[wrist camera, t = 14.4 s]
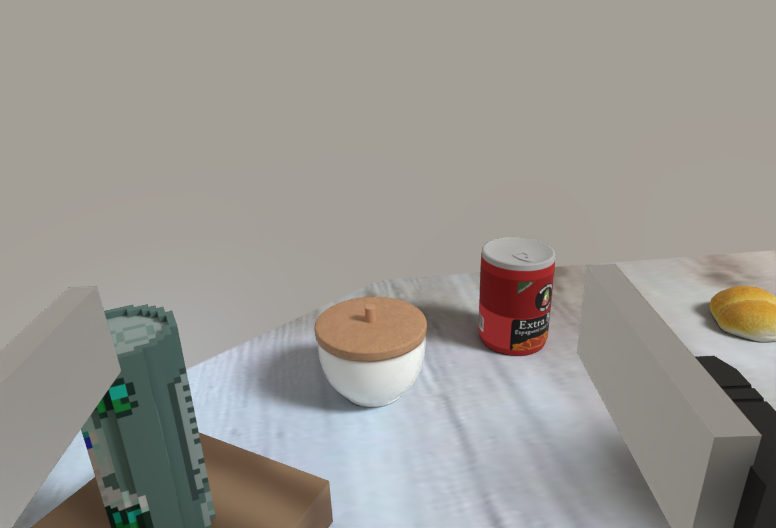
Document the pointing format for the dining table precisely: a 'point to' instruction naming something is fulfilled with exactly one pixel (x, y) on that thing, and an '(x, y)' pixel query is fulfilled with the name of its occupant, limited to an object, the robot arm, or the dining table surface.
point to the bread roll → (746, 313)
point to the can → (148, 429)
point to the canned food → (515, 295)
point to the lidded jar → (371, 348)
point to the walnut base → (226, 494)
